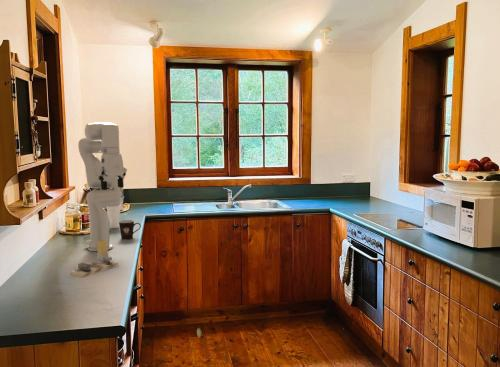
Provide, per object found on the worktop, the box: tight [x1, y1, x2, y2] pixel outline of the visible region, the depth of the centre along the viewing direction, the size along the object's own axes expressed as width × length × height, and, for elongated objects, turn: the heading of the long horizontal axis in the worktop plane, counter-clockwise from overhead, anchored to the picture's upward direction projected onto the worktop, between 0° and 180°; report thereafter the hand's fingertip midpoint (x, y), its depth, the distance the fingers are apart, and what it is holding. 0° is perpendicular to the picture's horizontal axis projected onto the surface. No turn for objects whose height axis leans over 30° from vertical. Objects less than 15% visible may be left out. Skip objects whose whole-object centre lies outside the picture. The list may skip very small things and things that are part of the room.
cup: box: [105, 198, 123, 229], centre depth 293 cm, size 11×11×18 cm
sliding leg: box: [96, 240, 113, 263], centre depth 210 cm, size 3×7×10 cm, turn 59°
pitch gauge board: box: [69, 260, 119, 278], centre depth 205 cm, size 20×8×4 cm, turn 149°
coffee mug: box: [118, 219, 142, 240], centre depth 264 cm, size 12×9×10 cm
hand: (112, 188), depth 208 cm, fingers open, 9 cm apart
